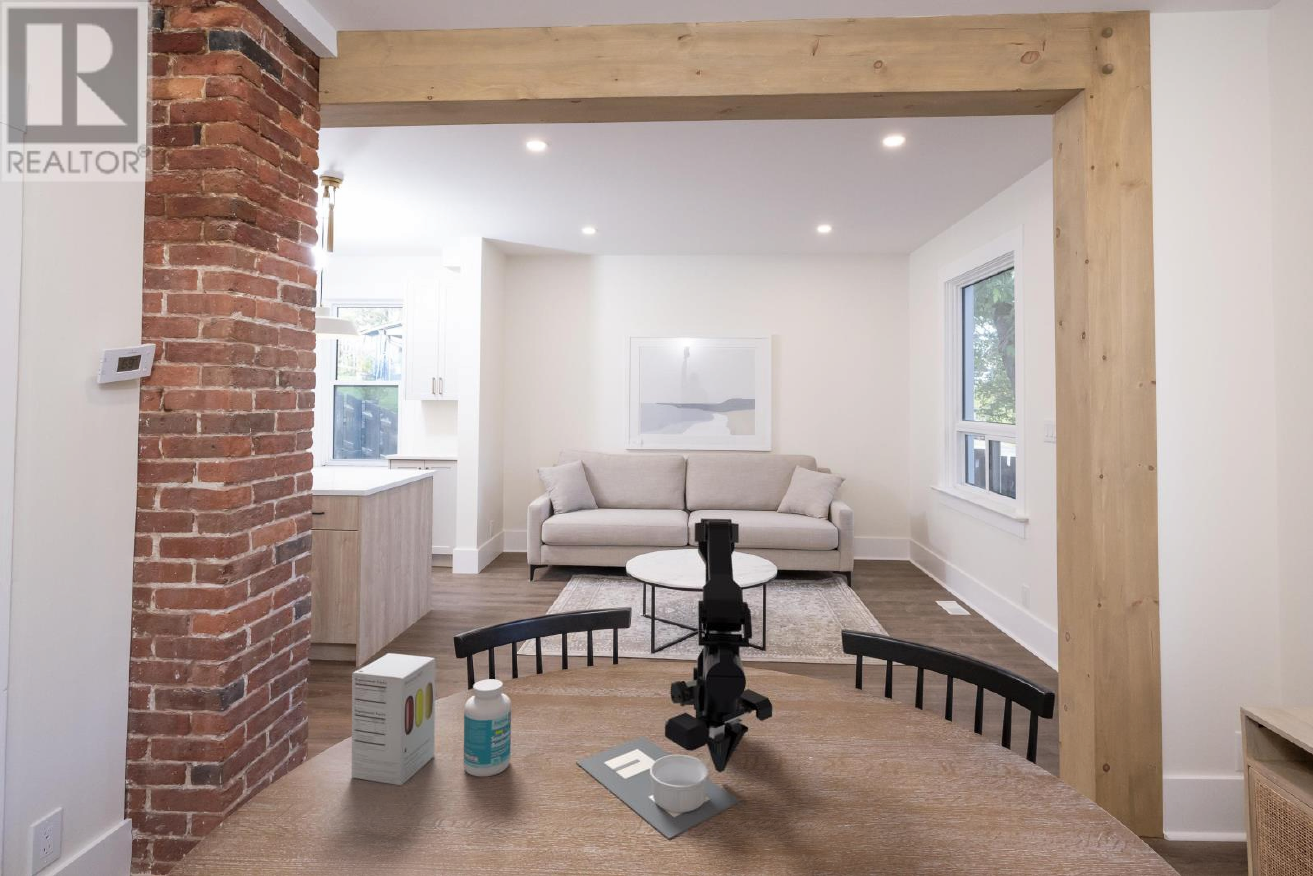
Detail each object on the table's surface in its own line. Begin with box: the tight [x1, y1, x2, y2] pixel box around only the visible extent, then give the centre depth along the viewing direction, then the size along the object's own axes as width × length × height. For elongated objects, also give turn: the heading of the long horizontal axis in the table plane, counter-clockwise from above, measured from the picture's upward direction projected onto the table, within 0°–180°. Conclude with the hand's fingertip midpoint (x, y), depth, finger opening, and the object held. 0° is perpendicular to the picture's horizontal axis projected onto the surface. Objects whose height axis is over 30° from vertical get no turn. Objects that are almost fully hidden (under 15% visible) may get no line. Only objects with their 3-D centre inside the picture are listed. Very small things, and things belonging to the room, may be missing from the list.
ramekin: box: [650, 754, 710, 812], centre depth 95 cm, size 9×9×4 cm
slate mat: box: [575, 736, 742, 840], centre depth 99 cm, size 14×24×1 cm, turn 39°
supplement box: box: [351, 652, 436, 786], centre depth 102 cm, size 10×9×17 cm
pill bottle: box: [463, 678, 512, 778], centre depth 103 cm, size 8×7×14 cm
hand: (719, 770), depth 100 cm, fingers closed
